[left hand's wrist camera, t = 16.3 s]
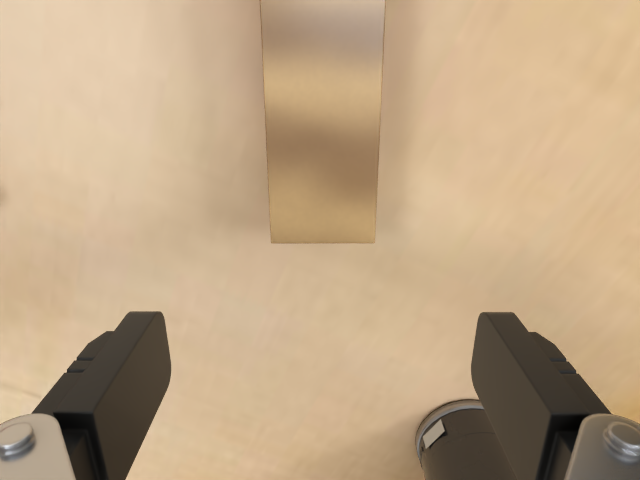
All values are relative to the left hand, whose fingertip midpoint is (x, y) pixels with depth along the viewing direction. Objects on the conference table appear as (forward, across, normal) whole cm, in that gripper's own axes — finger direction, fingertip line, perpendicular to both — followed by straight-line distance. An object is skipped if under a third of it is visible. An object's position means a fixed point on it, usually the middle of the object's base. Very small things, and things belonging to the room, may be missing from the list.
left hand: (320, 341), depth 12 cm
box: (+24, 0, -7) cm, 25 cm away
